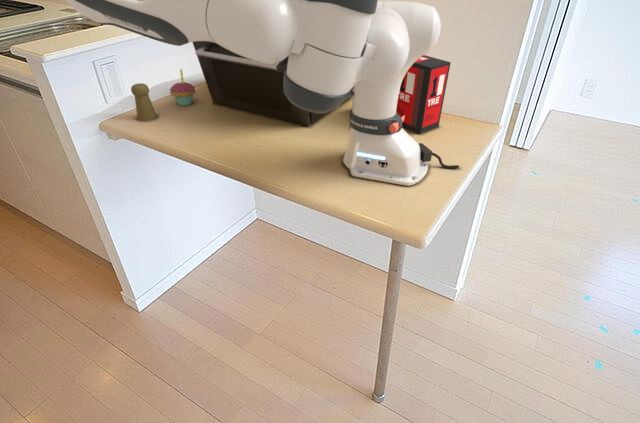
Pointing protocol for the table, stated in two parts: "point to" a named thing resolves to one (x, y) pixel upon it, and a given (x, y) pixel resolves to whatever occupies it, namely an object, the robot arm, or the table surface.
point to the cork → (143, 102)
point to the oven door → (247, 84)
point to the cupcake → (182, 92)
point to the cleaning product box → (423, 94)
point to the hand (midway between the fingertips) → (170, 17)
